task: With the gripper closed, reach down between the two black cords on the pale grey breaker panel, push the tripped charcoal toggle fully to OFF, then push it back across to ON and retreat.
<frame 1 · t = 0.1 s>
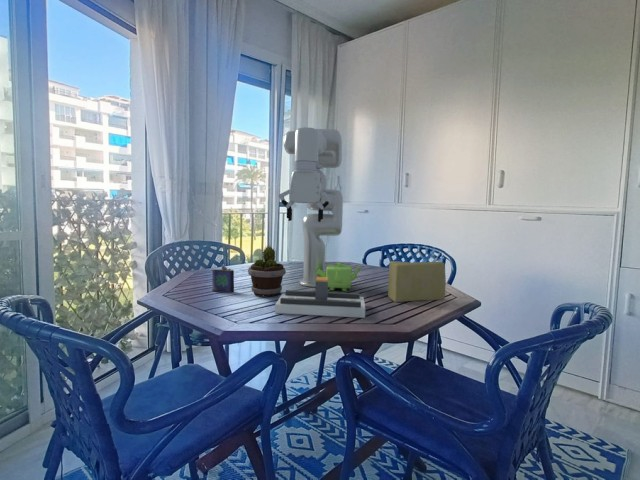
hand: (304, 221, 125), 31 cm above the table, fingers open, 9 cm apart
cheese: (417, 299, 153), on the table
flowerpot: (266, 294, 154), on the table
flask: (223, 291, 156), on the table
breaker panel: (321, 308, 135), on the table
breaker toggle: (321, 289, 135), point 7 cm above the table, slide at 0.0 cm
kettle: (339, 289, 165), on the table, touching arm
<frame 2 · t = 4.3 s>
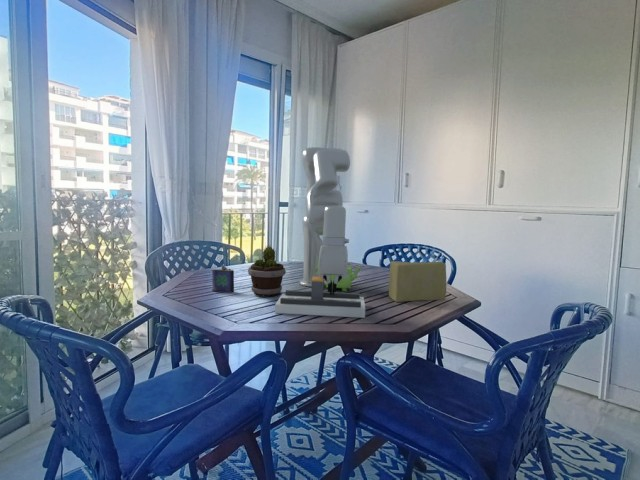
hand: (332, 293, 134), 6 cm above the table, fingers closed
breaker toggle: (317, 288, 135), point 7 cm above the table, slide at -1.4 cm, touching gripper
everything else where it was.
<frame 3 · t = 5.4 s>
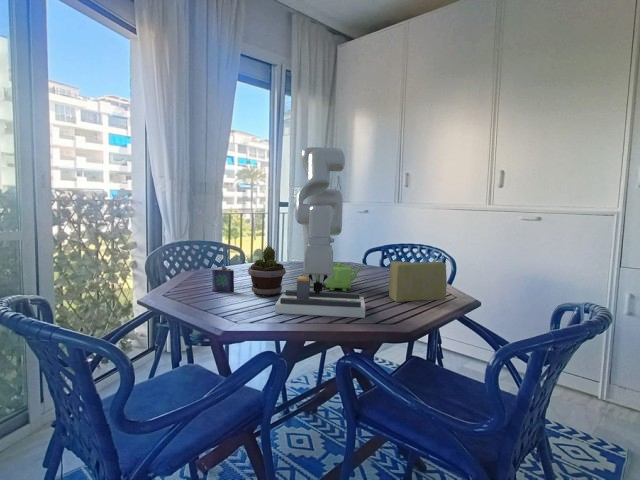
hand: (317, 293, 135), 6 cm above the table, fingers closed
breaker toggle: (303, 288, 135), point 7 cm above the table, slide at -6.4 cm, touching gripper
kettle: (338, 289, 165), on the table
everything else where it was.
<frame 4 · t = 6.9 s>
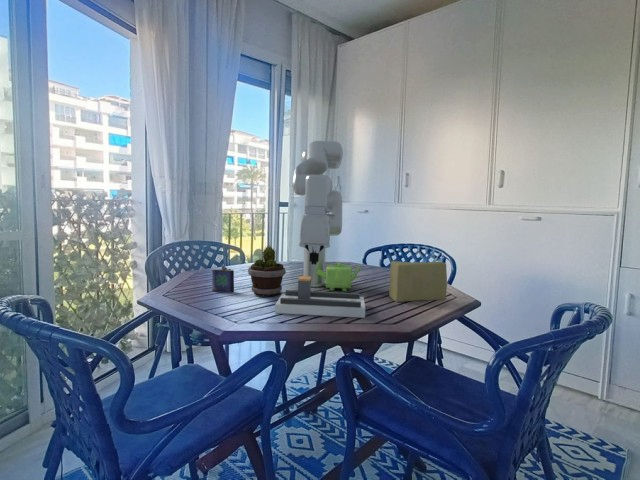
hand: (314, 263, 134), 16 cm above the table, fingers closed
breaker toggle: (304, 288, 135), point 7 cm above the table, slide at -6.0 cm
everything else where it was.
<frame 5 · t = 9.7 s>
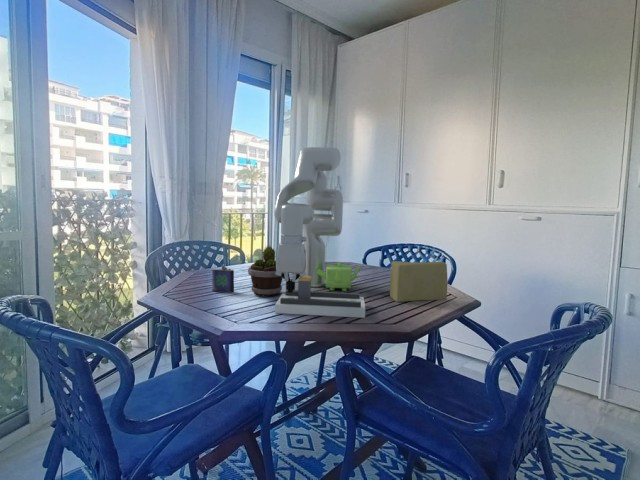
hand: (290, 291, 135), 6 cm above the table, fingers closed
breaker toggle: (304, 288, 135), point 7 cm above the table, slide at -6.0 cm, touching gripper
everything else where it was.
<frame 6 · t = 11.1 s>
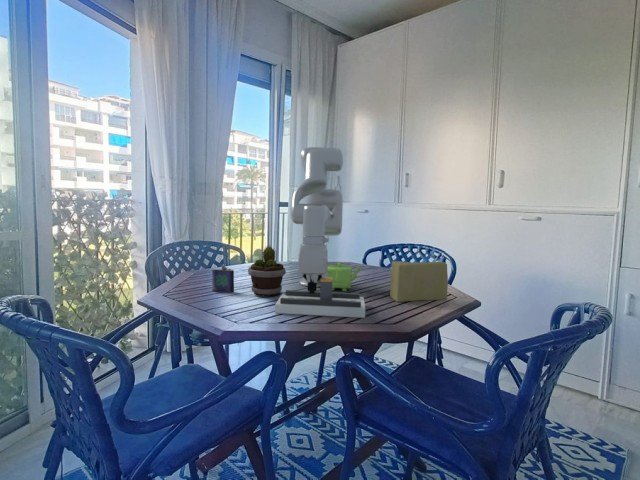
hand: (312, 292, 135), 6 cm above the table, fingers closed
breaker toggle: (326, 289, 134), point 7 cm above the table, slide at 1.7 cm, touching gripper
everything else where it was.
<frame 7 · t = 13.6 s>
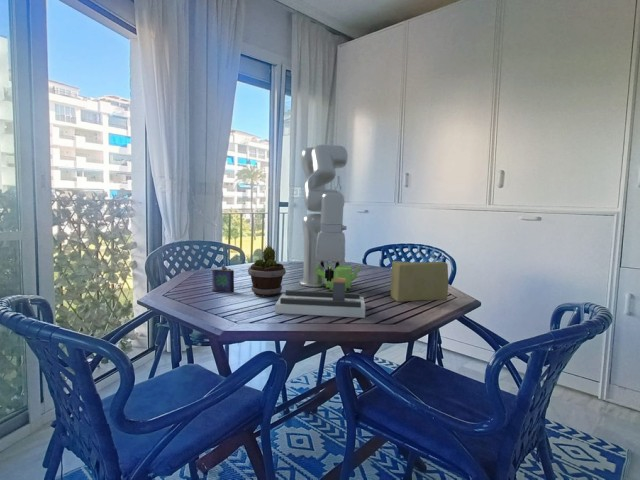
hand: (329, 280, 135), 10 cm above the table, fingers closed
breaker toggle: (339, 289, 134), point 7 cm above the table, slide at 6.0 cm
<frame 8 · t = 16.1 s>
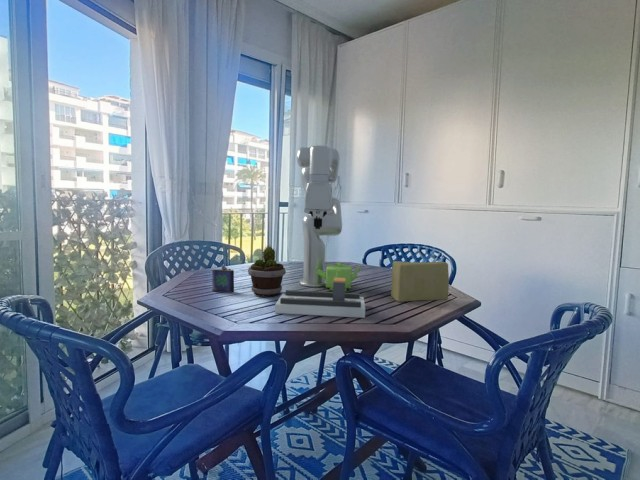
hand: (317, 228, 145), 27 cm above the table, fingers closed
at the end: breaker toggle slide at 6.0 cm; the gripper is holding nothing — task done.
